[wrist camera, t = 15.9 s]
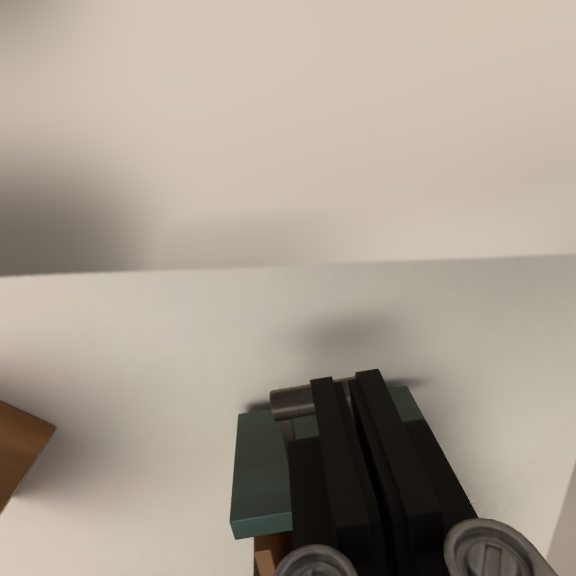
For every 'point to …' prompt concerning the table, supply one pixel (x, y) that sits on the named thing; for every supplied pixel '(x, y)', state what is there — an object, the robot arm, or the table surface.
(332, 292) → the table surface
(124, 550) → the table surface
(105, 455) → the table surface
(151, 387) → the table surface
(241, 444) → the drawer
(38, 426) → the stand
